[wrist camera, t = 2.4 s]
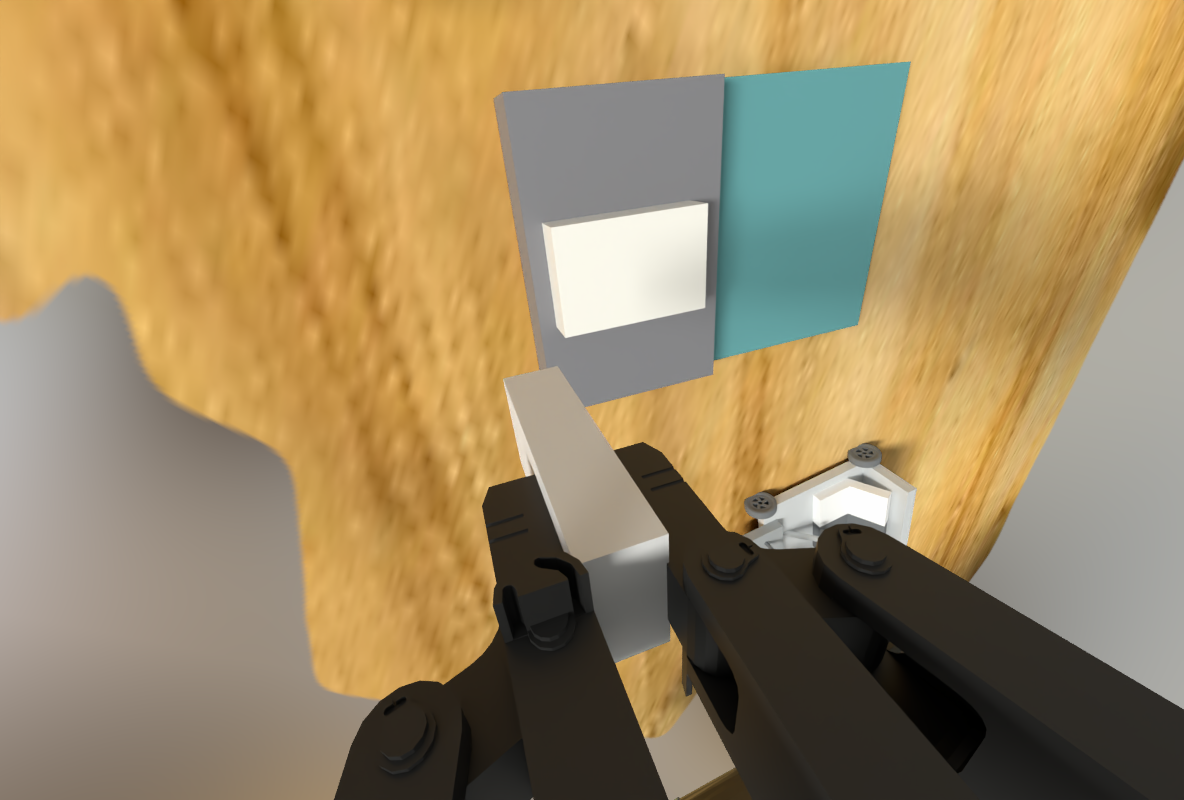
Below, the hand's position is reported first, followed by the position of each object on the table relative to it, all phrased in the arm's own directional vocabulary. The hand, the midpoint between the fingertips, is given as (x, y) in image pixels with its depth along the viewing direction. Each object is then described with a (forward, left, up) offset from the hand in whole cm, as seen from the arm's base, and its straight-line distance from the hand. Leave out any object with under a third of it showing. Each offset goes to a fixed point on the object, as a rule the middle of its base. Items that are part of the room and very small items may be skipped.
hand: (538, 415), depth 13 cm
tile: (0, -9, -15) cm, 17 cm away
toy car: (-31, -28, -19) cm, 46 cm away
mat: (0, -23, -18) cm, 29 cm away
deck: (0, -9, -18) cm, 20 cm away
